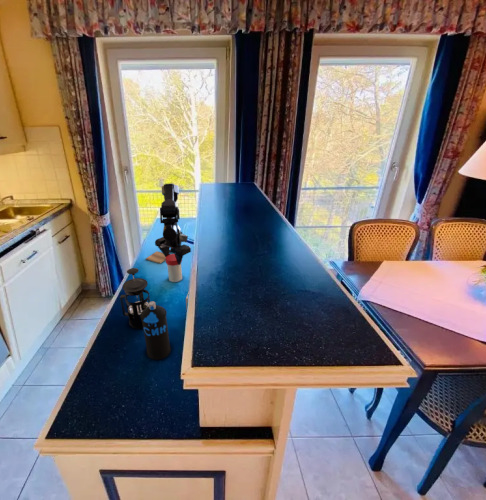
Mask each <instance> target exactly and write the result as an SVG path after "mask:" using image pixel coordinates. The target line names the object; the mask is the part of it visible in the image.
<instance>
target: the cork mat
mask: <svg viewBox="0 0 486 500" xmlns="http://www.w3.org/2000/svg"><path fill="white" fill-rule="evenodd" d="M145 260H146V261H149V262H153V263H156V264H162V263H163V262H166V257H165V256H164V254H163V253H162V251H155V252H153V253H152V254H151V255H149V256H147V257H146V258H145Z"/></svg>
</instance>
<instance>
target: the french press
mask: <svg viewBox="0 0 486 500" xmlns="http://www.w3.org/2000/svg"><path fill="white" fill-rule="evenodd" d="M139 271H140V270H139V268H137V267H131V268H128V269H127V270H126V274H128V275H131V276H132V278H131V279H128V280H127V281H125V282H124V283H123V285H122V289H123V291H124V294H121V295H120V296H119V301H120V306H121V311H122V315H123V317H127V318H128V324H129V326H130V327H131V328H132V329H135V330H142V329H143V324H142V320H140V315H141V313H142V311H143V310H144V309H146V308H147V307H149V302H151V297H150V296H151V295H150V292H149V291H148V290H147V289H146V288H147V287H148V284H149V283H148V281H147V279H145V278H141V277H136V278H135V274H137V273H139ZM144 293H145V294H147V295H148V296H147V297H146V298H145V297H144ZM129 296H130V297H135V296H136V301H135V302H132V301H129V300H128V297H129ZM124 302H125V303H124ZM125 304H126V309H125ZM126 310H127V312H126Z"/></svg>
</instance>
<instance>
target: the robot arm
mask: <svg viewBox="0 0 486 500" xmlns="http://www.w3.org/2000/svg"><path fill="white" fill-rule="evenodd" d="M179 195H180V190H179V186H178V185H177V184H175V183H164V184H163V185H162V186H161V196H163V199H164V201H163V202H161V207H159V219H160V220H159V221H160V224H163V229H162V237H159V238H157V239H155V241H154V246H156V247H157V248H158V249H159V251H160V252H162V253H163V254H164V256H165V257H166V256H168V255H170V254H171V253H172V254H175V257H176V260H177V263H178V265H180V264H181V265H182V262H183V257H184V256H186V255H187V254H189V253H191V252H192V248H191V246H190V245H187V244H182V243H187V242H188V238H189V236H188V235H187V234H184V233H183V231H182V229H181V227H180V226H179V224H178V223H179V220H180V217H181V216H180V209H179V206H177V201H178V199H179ZM181 261H182V262H181Z"/></svg>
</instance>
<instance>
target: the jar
mask: <svg viewBox="0 0 486 500" xmlns="http://www.w3.org/2000/svg"><path fill="white" fill-rule="evenodd" d="M166 267H167V277H168V281H169V282H172V283H179V282H181V281H182V280H183V273H182V272H183V269H182V263H181V264H180V265H174V266H171V265H168V264H166Z"/></svg>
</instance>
